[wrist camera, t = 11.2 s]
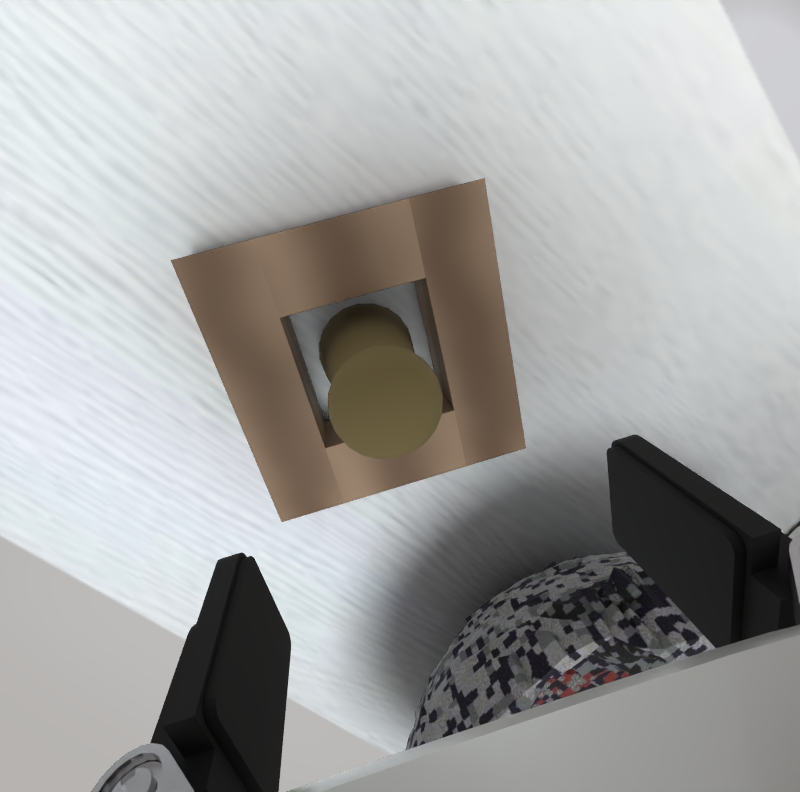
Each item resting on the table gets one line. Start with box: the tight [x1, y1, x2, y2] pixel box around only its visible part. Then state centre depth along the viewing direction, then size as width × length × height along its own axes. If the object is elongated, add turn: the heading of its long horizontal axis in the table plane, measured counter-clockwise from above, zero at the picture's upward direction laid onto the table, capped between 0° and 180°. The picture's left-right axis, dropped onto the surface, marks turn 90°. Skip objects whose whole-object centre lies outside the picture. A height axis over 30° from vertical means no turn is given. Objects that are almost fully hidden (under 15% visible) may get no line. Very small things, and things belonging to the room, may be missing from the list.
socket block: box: [171, 178, 526, 522], centre depth 27 cm, size 16×16×4 cm
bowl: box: [406, 552, 716, 750], centre depth 33 cm, size 31×31×15 cm
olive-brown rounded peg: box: [319, 304, 443, 459], centre depth 24 cm, size 6×6×11 cm
